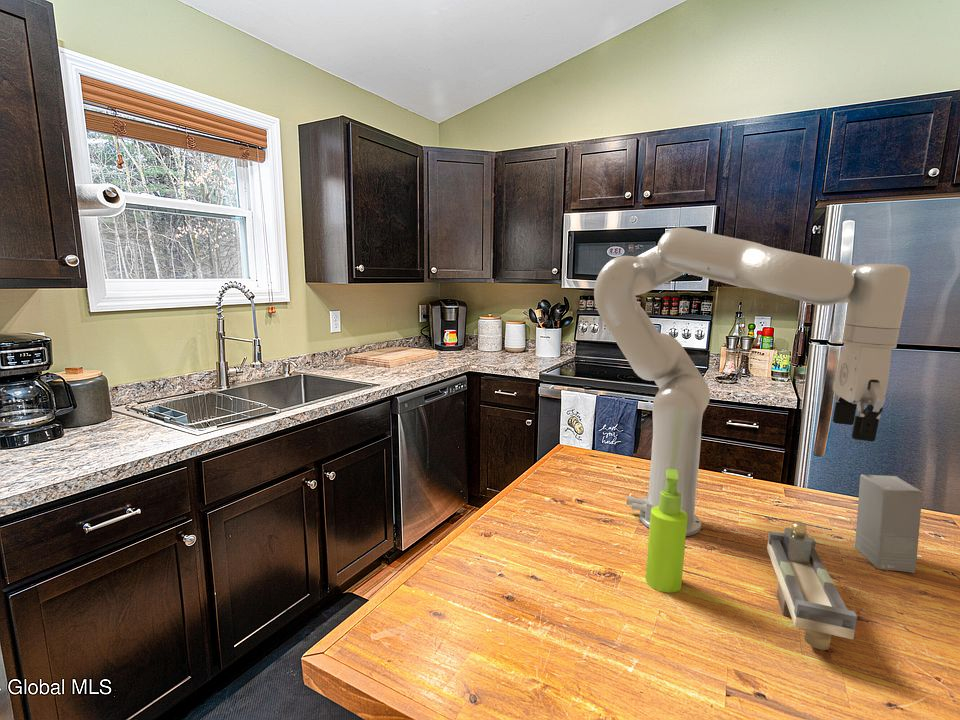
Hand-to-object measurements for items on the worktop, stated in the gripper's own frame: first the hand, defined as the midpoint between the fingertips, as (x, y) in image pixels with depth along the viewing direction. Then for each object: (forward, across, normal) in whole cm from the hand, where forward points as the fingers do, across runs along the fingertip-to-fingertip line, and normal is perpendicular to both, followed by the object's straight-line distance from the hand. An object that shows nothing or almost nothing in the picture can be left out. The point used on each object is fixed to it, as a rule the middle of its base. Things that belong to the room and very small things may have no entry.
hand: (852, 431), depth 89 cm
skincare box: (+26, -5, +10) cm, 28 cm away
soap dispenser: (+27, +17, -30) cm, 43 cm away
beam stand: (+26, +17, -8) cm, 32 cm away
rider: (+21, +10, -8) cm, 25 cm away
